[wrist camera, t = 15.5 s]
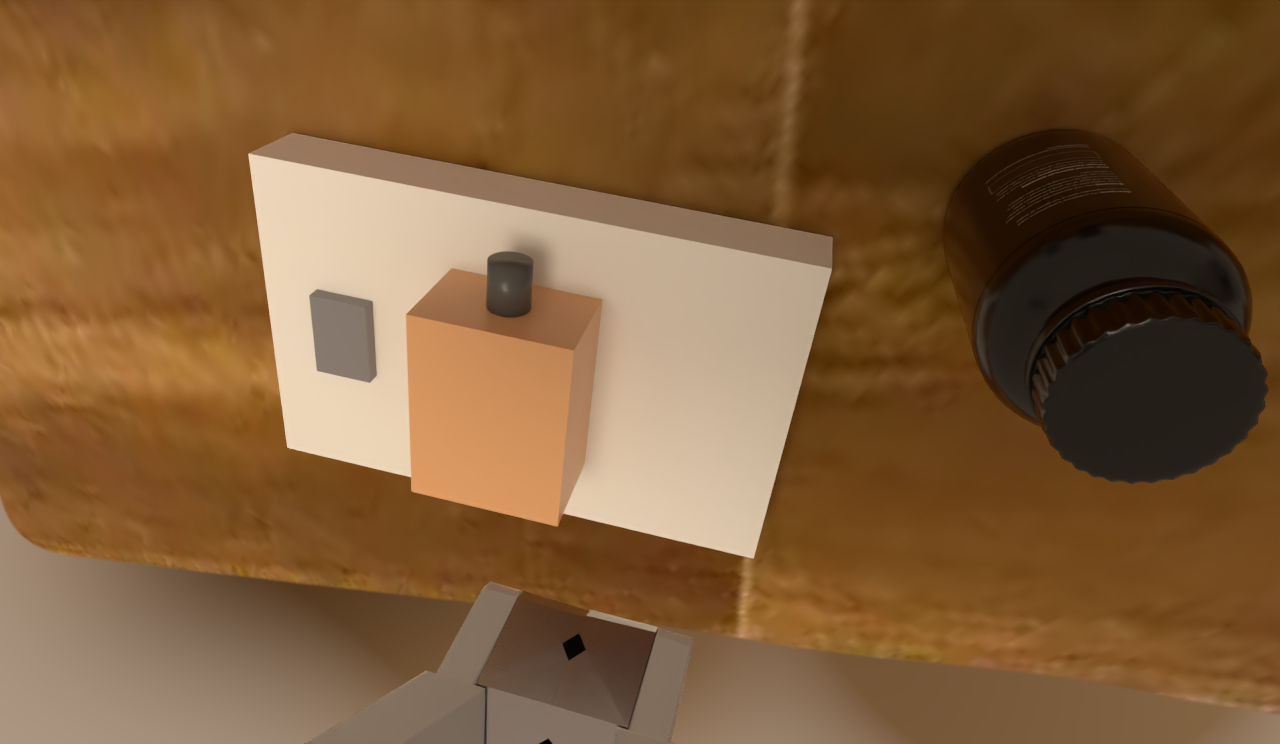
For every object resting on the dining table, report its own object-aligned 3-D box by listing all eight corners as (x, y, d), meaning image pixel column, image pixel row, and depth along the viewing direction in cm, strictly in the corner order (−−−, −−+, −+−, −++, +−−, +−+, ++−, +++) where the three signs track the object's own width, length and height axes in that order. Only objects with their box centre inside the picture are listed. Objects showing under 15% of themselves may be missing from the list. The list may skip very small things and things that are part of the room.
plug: (622, 231, 32) (578, 303, 27) (598, 431, 38) (557, 526, 32) (476, 202, 33) (404, 266, 27) (472, 403, 38) (411, 491, 33)
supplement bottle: (915, 287, 32) (951, 479, 22) (980, 107, 28) (1059, 238, 18) (1099, 326, 31) (1225, 545, 21) (1190, 148, 27) (1396, 307, 17)
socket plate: (832, 237, 31) (831, 275, 28) (759, 514, 39) (752, 568, 36) (292, 132, 34) (238, 158, 31) (321, 412, 41) (280, 455, 38)
